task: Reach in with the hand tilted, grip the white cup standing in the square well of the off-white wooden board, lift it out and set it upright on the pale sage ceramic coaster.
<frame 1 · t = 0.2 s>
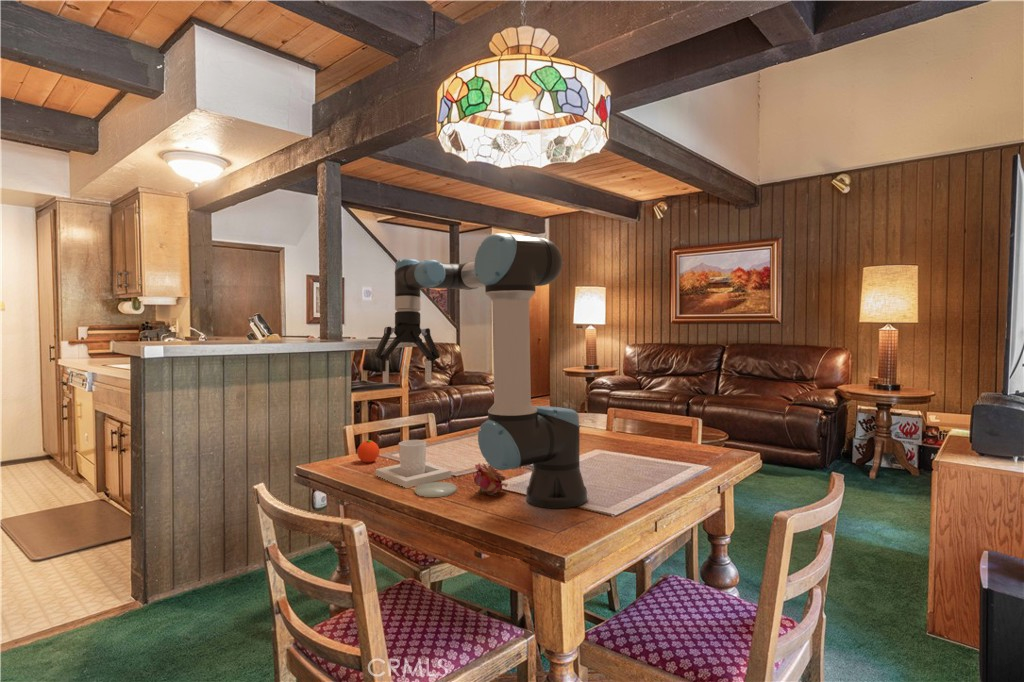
hand: (407, 382, 164), 27 cm above the table, tool pointing down, fingers open, 13 cm apart
clementine: (369, 462, 178), on the table
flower: (490, 494, 144), on the table
white cup: (413, 477, 160), resting in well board
coaster: (435, 491, 146), on the table
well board: (413, 476, 160), on the table
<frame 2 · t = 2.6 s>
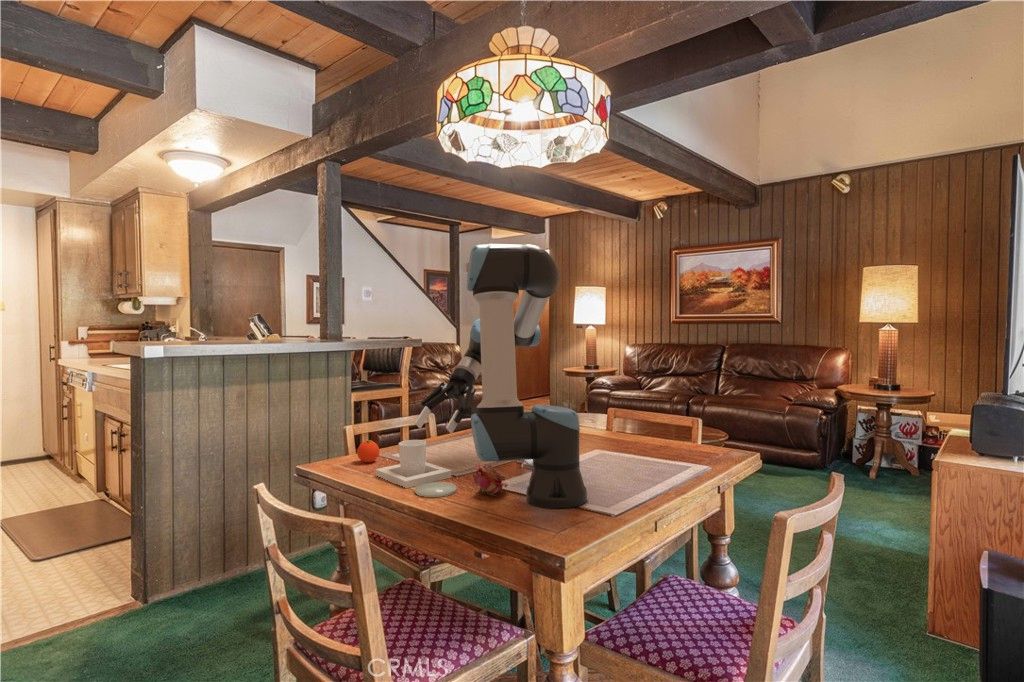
hand: (432, 428, 167), 13 cm above the table, tool tilted 45°, fingers open, 13 cm apart
nothing on the table moved.
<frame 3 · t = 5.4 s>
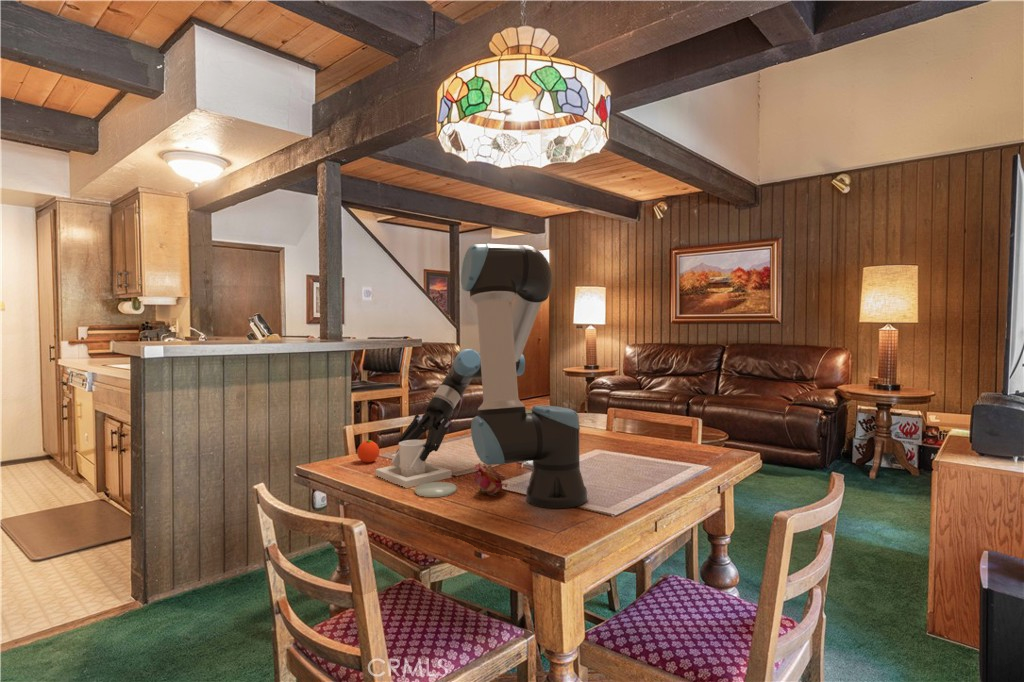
hand: (403, 466, 158), 4 cm above the table, tool tilted 45°, fingers closed on white cup, 7 cm apart
white cup: (413, 477, 160), resting in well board, touching gripper
everything else where it was.
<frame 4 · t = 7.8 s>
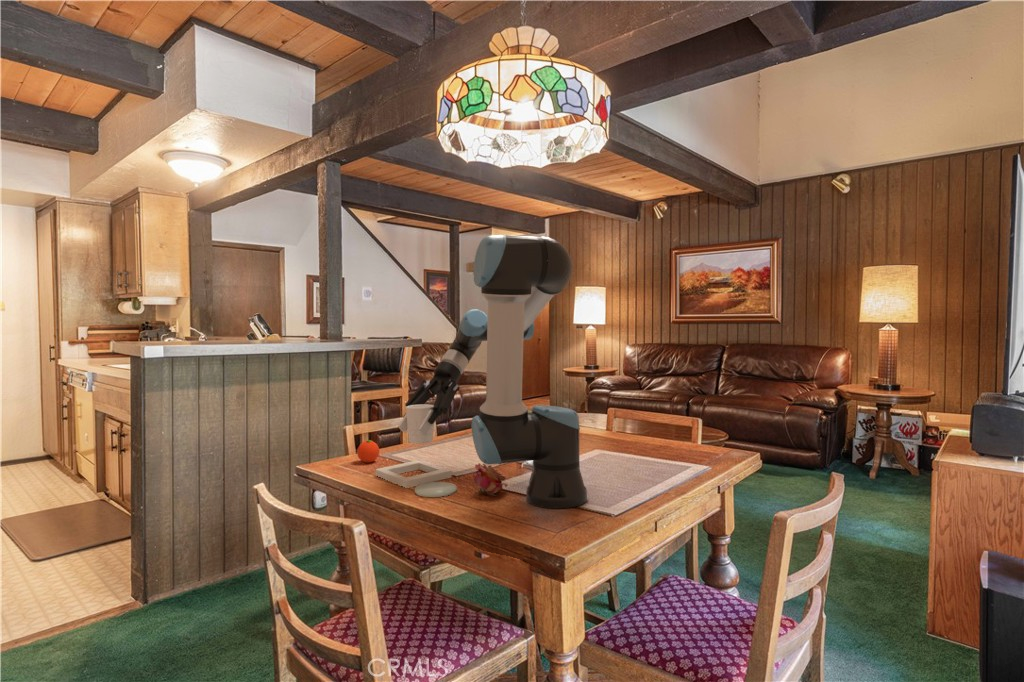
hand: (411, 430, 152), 15 cm above the table, tool tilted 45°, fingers closed on white cup, 7 cm apart
white cup: (421, 442, 155), point 11 cm above the table, touching gripper
everything else where it was.
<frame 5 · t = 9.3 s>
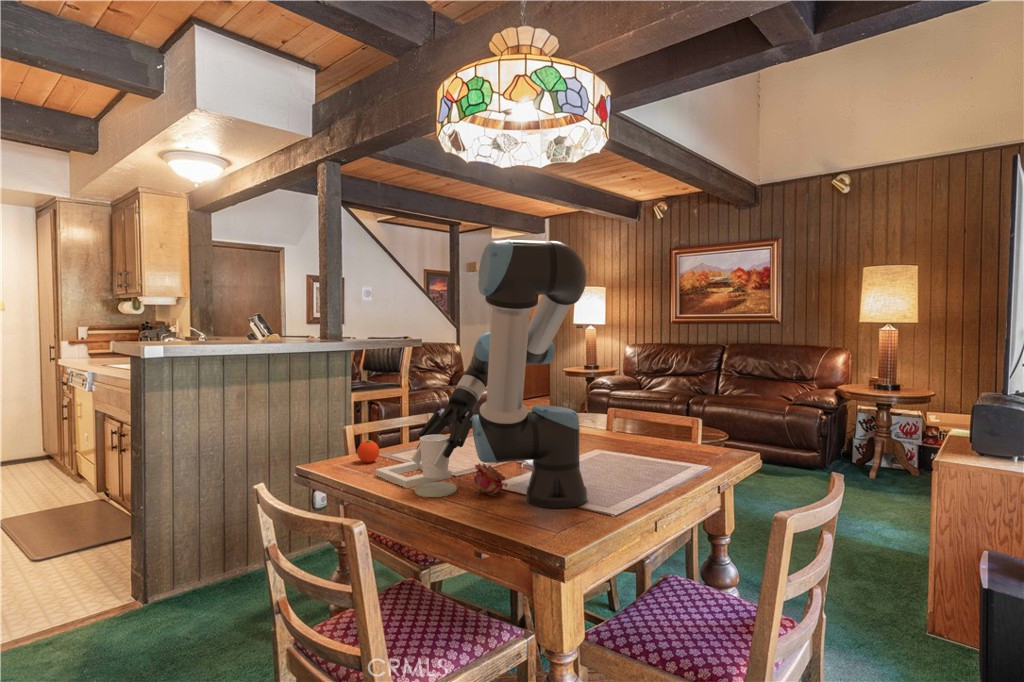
hand: (425, 464, 144), 8 cm above the table, tool tilted 45°, fingers closed on white cup, 7 cm apart
white cup: (435, 475, 147), point 4 cm above the table, touching gripper
everything else where it was.
when the fingers open (5 cm above the table, at t = 10.1 s): white cup stays where it is, resting on coaster.
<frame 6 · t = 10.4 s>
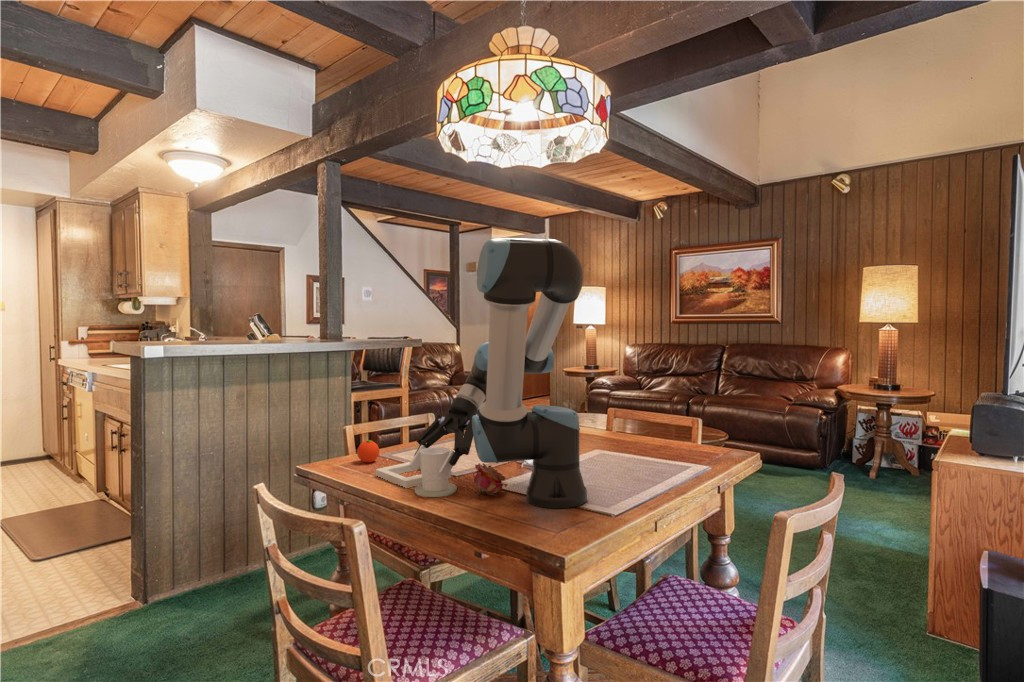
hand: (427, 471, 144), 6 cm above the table, tool tilted 45°, fingers open, 10 cm apart
white cup: (435, 488, 147), point 1 cm above the table, touching coaster
everything else where it was.
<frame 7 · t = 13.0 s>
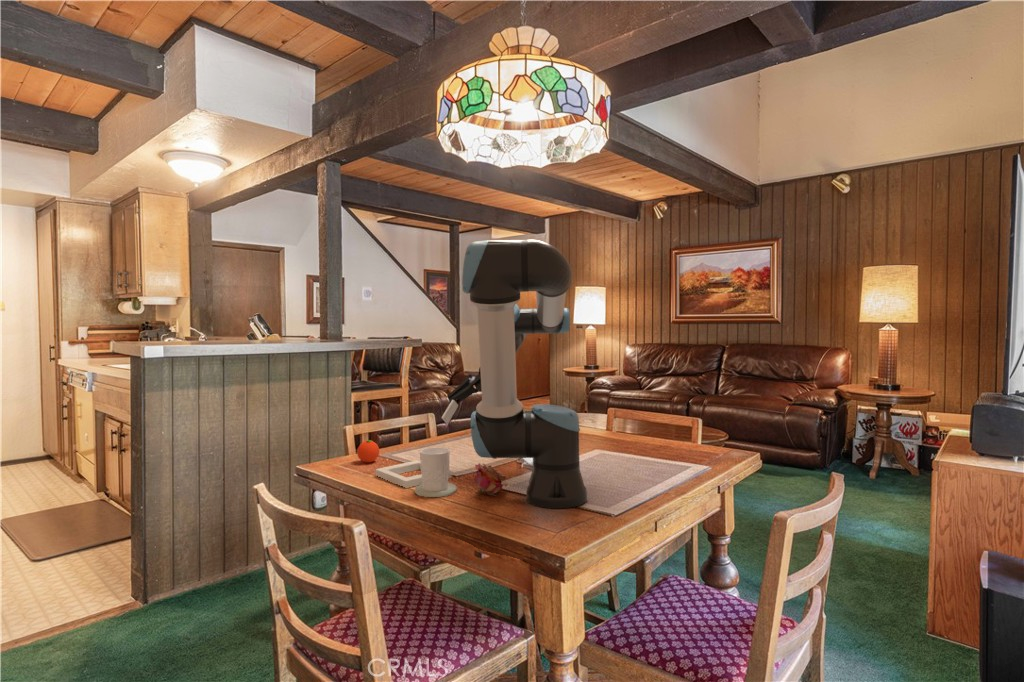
hand: (461, 423, 154), 16 cm above the table, tool tilted 45°, fingers open, 13 cm apart
nothing on the table moved.
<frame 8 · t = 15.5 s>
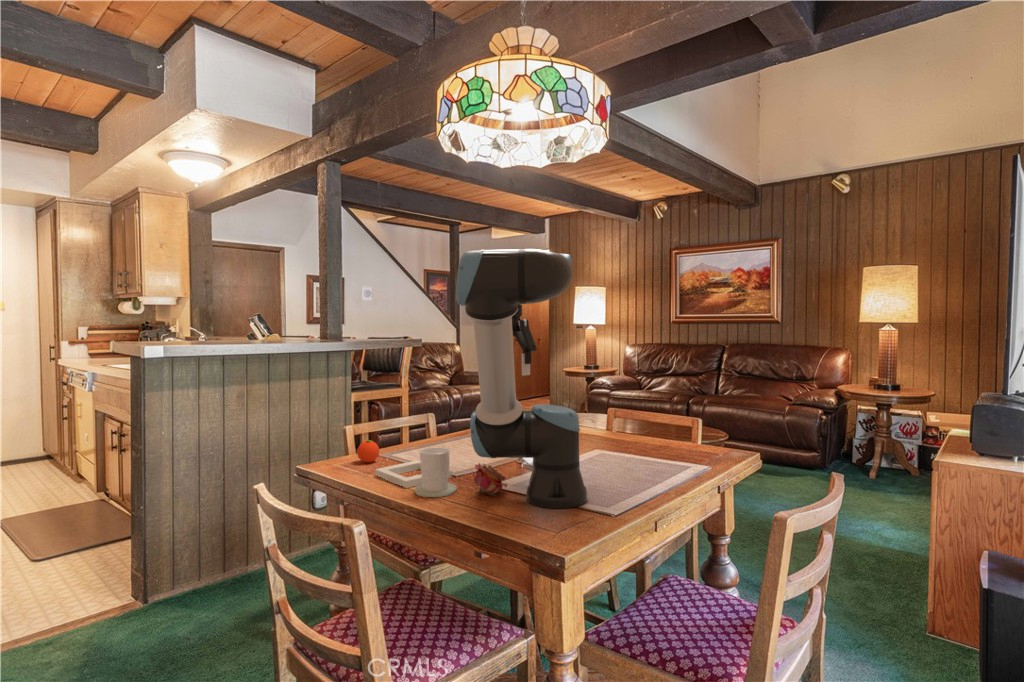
hand: (510, 373, 168), 29 cm above the table, tool pointing down, fingers open, 13 cm apart
nothing on the table moved.
at the end: white cup 0.1 cm off-centre on the coaster, point 0.6 cm above the coaster's base; white cup tilted 0°; the gripper is holding nothing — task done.
